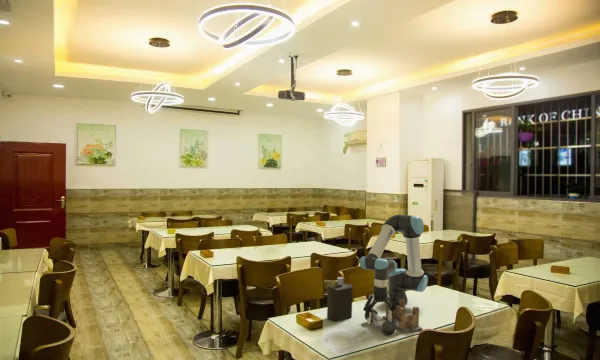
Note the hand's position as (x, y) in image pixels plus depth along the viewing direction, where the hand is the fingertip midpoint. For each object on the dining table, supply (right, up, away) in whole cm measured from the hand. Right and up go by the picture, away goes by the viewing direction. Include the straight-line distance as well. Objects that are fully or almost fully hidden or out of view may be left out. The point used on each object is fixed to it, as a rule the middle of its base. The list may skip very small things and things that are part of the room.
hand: (379, 322), depth 246 cm
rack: (+15, -4, +7) cm, 17 cm away
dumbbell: (0, 0, 0) cm, 1 cm away
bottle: (-22, -3, +16) cm, 28 cm away
